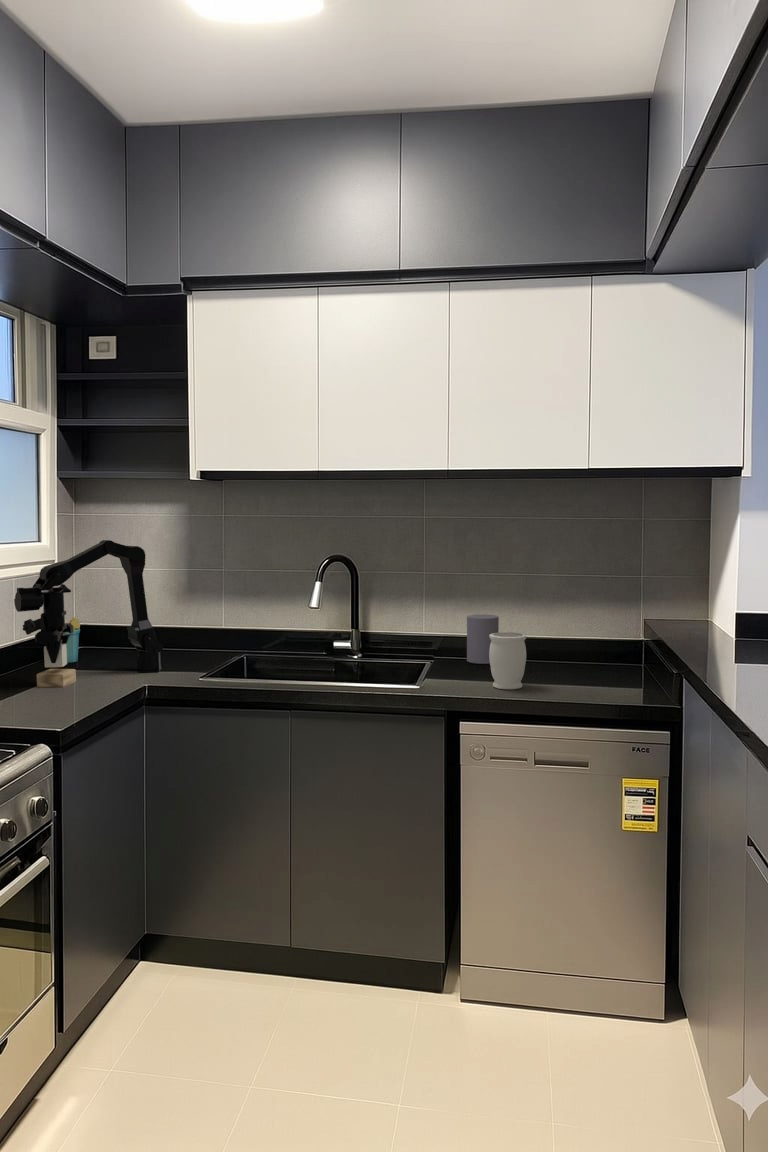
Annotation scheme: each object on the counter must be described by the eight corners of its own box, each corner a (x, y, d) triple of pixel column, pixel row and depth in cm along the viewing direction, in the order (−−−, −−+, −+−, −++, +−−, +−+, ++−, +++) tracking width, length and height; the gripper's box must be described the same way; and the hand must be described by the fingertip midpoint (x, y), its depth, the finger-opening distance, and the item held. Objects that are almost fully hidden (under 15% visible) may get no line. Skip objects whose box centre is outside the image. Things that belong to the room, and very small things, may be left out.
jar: (516, 692, 242) (517, 638, 241) (482, 688, 248) (483, 635, 246) (531, 685, 251) (532, 633, 250) (498, 681, 257) (498, 630, 255)
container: (485, 657, 295) (485, 613, 294) (504, 662, 286) (505, 617, 285) (460, 661, 290) (460, 615, 289) (479, 665, 281) (479, 619, 280)
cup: (71, 665, 287) (70, 620, 286) (48, 665, 287) (46, 620, 286) (88, 657, 301) (86, 614, 300) (65, 657, 301) (64, 614, 300)
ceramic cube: (67, 663, 260) (66, 643, 260) (62, 666, 255) (61, 646, 255) (49, 664, 260) (48, 644, 259) (44, 667, 255) (43, 646, 254)
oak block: (76, 682, 262) (75, 669, 261) (63, 688, 254) (62, 674, 253) (50, 682, 262) (49, 668, 262) (37, 687, 254) (36, 674, 254)
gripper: (34, 605, 265) (37, 656, 266) (15, 613, 246) (17, 668, 247) (72, 604, 266) (74, 655, 267) (55, 612, 247) (58, 667, 248)
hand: (56, 661), depth 257 cm, fingers closed on ceramic cube, 5 cm apart
